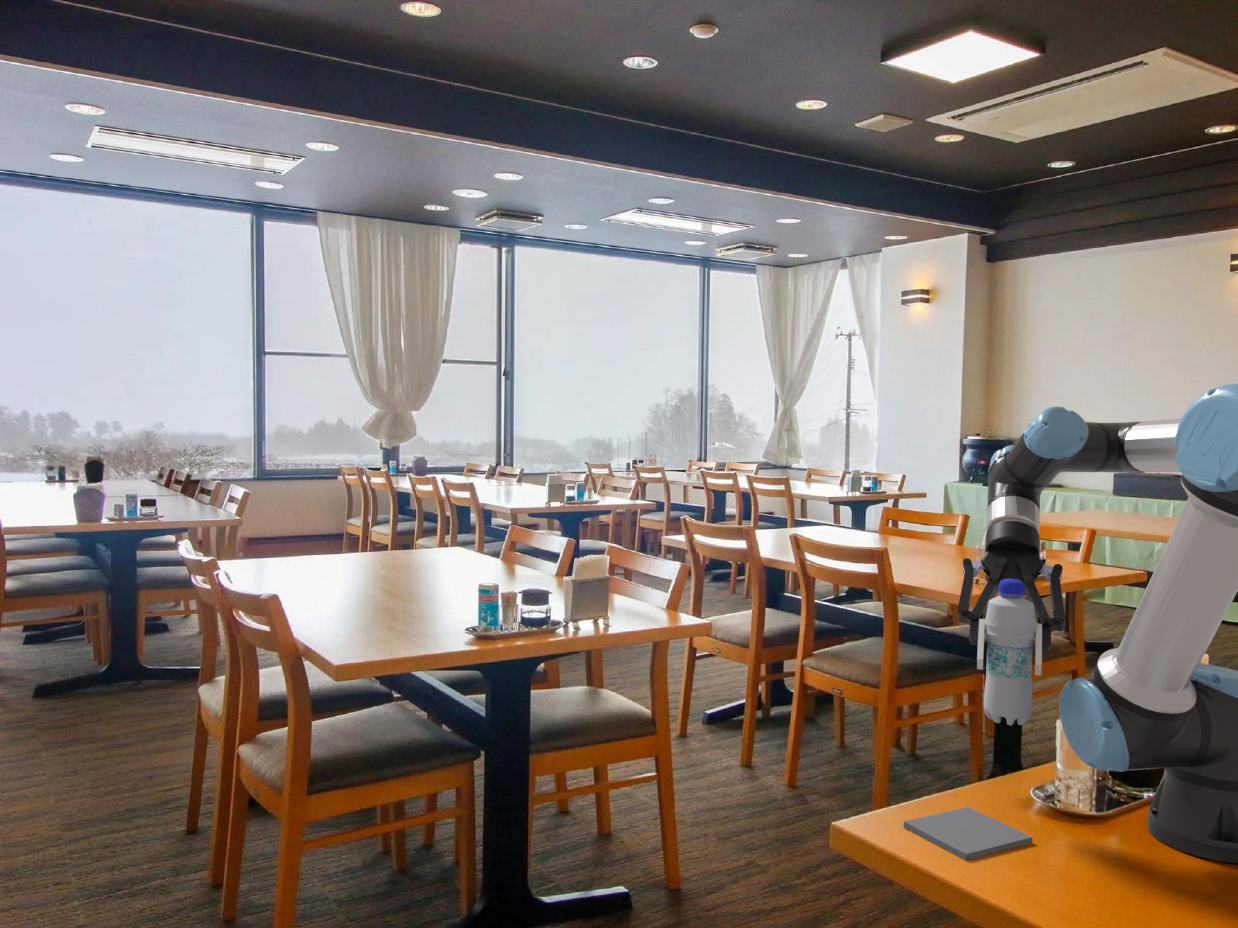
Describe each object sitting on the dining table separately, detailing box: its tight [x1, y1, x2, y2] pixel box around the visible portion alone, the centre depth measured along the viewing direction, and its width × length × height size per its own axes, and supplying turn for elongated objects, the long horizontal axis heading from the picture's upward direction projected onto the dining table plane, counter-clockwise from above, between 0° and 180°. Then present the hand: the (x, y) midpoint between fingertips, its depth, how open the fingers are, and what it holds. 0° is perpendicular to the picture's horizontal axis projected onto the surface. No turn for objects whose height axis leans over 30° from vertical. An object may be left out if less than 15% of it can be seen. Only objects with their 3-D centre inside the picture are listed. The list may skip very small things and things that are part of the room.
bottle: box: [983, 579, 1037, 726], centre depth 135 cm, size 7×7×20 cm
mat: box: [903, 806, 1033, 861], centre depth 130 cm, size 11×12×1 cm
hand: (1008, 666), depth 131 cm, fingers closed on bottle, 7 cm apart
